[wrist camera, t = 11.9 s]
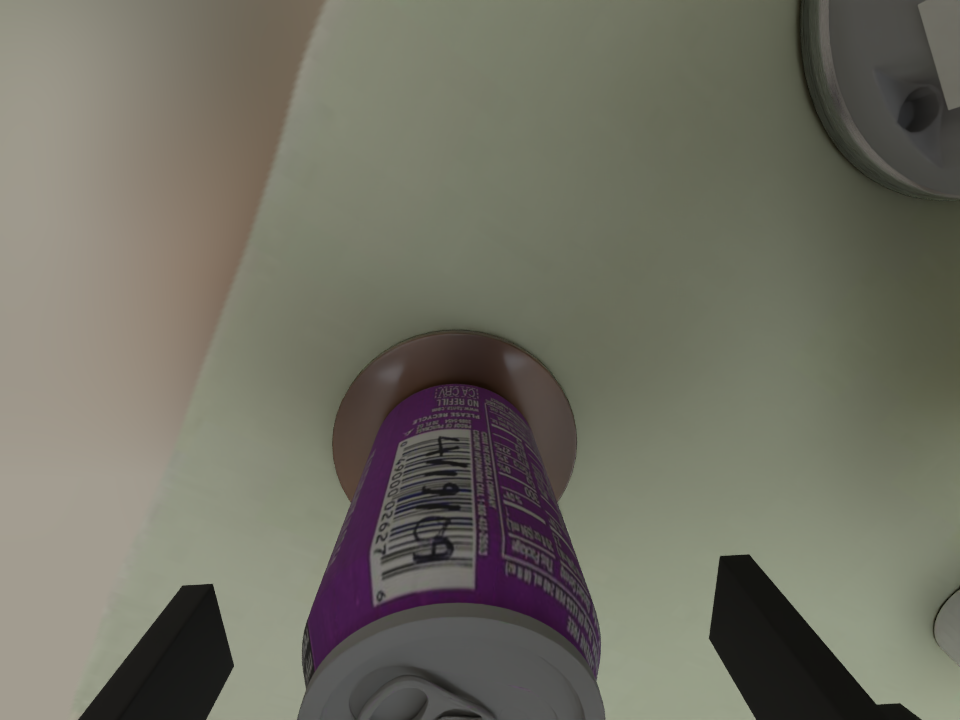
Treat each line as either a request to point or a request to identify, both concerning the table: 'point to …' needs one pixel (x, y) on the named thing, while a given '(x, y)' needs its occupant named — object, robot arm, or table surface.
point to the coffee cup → (949, 627)
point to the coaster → (454, 363)
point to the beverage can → (453, 578)
